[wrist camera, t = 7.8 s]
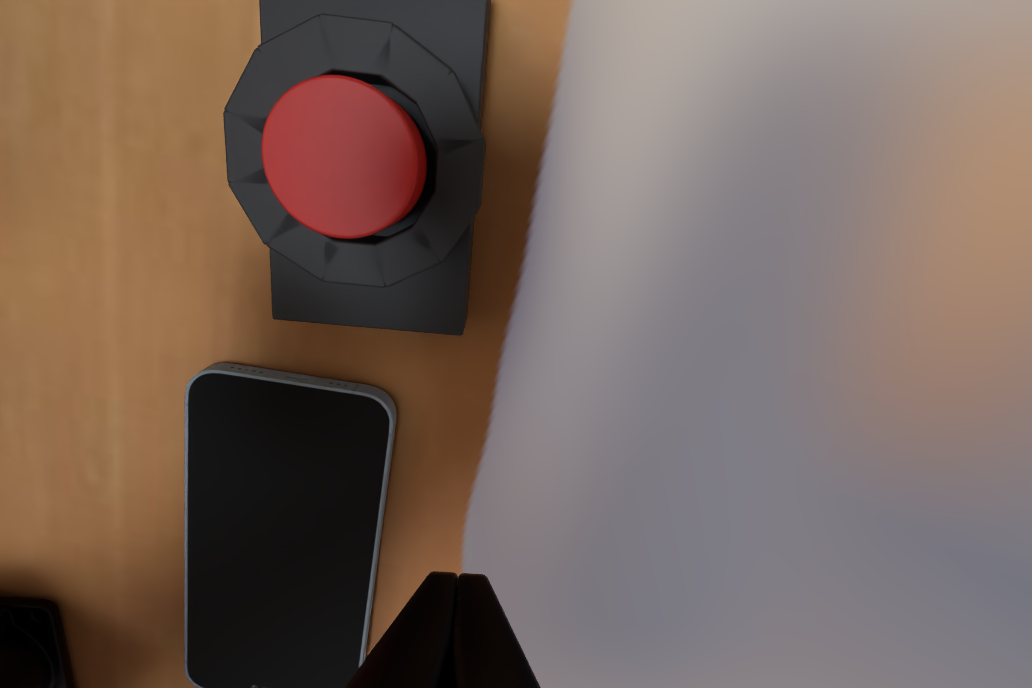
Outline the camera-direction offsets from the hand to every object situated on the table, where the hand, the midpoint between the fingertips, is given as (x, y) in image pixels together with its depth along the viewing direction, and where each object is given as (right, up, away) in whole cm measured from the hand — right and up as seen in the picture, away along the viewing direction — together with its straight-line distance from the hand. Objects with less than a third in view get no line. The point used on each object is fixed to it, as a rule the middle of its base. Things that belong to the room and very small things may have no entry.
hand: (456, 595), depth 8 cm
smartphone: (-8, -4, +14) cm, 17 cm away
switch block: (-3, +10, +9) cm, 14 cm away
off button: (-3, +9, +6) cm, 11 cm away
